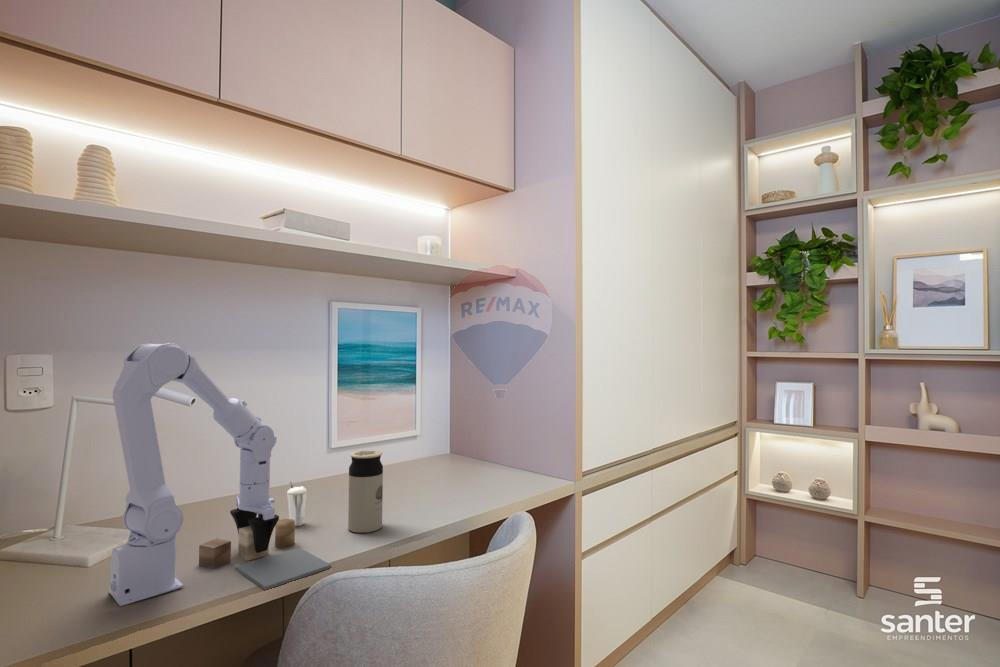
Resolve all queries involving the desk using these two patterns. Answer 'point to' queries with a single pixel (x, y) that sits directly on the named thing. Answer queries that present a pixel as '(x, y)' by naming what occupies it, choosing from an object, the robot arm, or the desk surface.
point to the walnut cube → (214, 553)
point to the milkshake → (297, 504)
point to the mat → (282, 568)
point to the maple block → (248, 544)
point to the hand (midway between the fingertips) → (253, 546)
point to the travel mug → (365, 491)
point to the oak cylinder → (285, 533)
